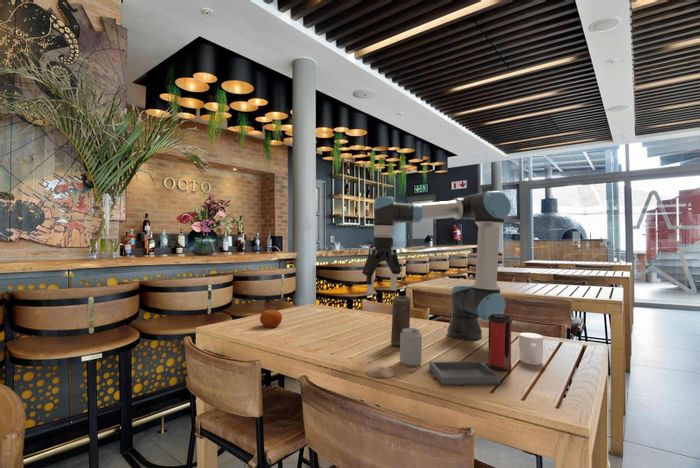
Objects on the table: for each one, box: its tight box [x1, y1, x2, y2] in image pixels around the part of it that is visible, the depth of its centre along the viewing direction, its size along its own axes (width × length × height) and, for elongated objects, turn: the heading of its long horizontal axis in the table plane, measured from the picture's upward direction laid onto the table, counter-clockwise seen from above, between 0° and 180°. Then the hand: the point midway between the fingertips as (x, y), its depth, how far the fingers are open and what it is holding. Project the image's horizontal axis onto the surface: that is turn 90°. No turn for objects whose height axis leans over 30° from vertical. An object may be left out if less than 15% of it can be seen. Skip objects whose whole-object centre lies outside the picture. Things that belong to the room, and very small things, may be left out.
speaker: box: [486, 314, 513, 372], centre depth 130 cm, size 8×8×18 cm
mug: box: [518, 332, 544, 366], centre depth 138 cm, size 12×9×8 cm
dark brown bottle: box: [390, 295, 412, 347], centre depth 155 cm, size 8×7×20 cm
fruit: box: [259, 309, 283, 328], centre depth 184 cm, size 11×10×8 cm
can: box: [399, 327, 423, 367], centre depth 133 cm, size 8×8×12 cm
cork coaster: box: [366, 366, 396, 379], centre depth 123 cm, size 9×9×1 cm
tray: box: [428, 360, 501, 387], centre depth 121 cm, size 18×14×3 cm
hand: (382, 291), depth 145 cm, fingers open, 13 cm apart
